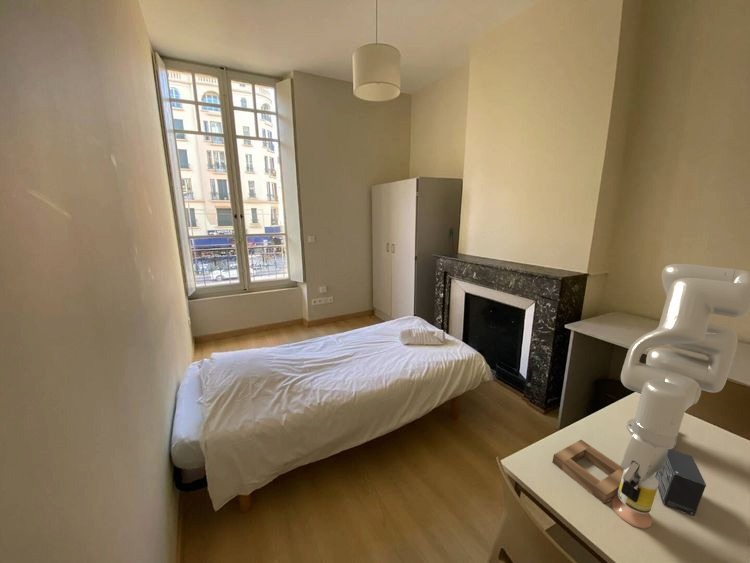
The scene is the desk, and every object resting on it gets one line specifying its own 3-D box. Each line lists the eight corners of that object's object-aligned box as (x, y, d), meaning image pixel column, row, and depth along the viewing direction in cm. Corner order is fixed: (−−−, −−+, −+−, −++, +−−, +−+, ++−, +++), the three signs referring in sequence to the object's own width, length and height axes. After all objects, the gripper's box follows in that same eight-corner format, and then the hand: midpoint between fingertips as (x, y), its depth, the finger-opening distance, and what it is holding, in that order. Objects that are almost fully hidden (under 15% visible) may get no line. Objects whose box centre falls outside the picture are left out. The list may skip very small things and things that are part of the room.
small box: (697, 518, 75) (708, 485, 73) (662, 505, 79) (672, 473, 76) (683, 485, 84) (693, 455, 81) (653, 474, 87) (661, 445, 85)
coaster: (621, 492, 82) (622, 491, 82) (658, 519, 75) (658, 517, 75) (604, 505, 79) (605, 503, 79) (641, 534, 72) (641, 532, 72)
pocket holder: (579, 447, 97) (581, 439, 97) (631, 483, 85) (634, 475, 84) (552, 462, 92) (553, 454, 91) (604, 503, 79) (606, 495, 78)
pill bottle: (656, 518, 72) (669, 479, 69) (626, 512, 73) (637, 473, 71) (639, 493, 78) (650, 457, 76) (611, 488, 80) (621, 452, 77)
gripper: (652, 411, 77) (637, 466, 82) (614, 433, 70) (600, 492, 75) (692, 430, 71) (673, 489, 75) (654, 456, 64) (636, 520, 68)
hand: (637, 490), depth 75 cm, fingers closed on pill bottle, 6 cm apart
